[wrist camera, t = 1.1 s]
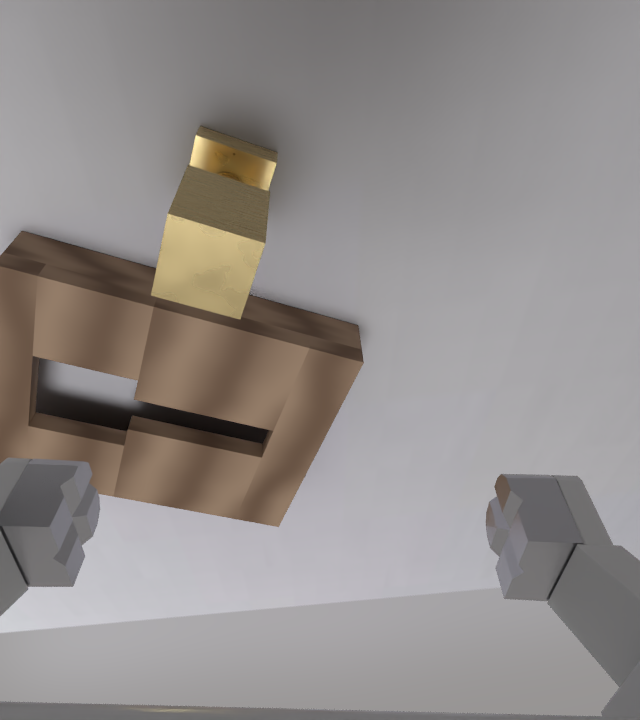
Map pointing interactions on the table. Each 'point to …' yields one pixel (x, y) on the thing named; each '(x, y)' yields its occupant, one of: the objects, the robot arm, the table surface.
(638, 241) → the table surface
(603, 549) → the robot arm
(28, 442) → the keyhole plate
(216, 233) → the t peg
